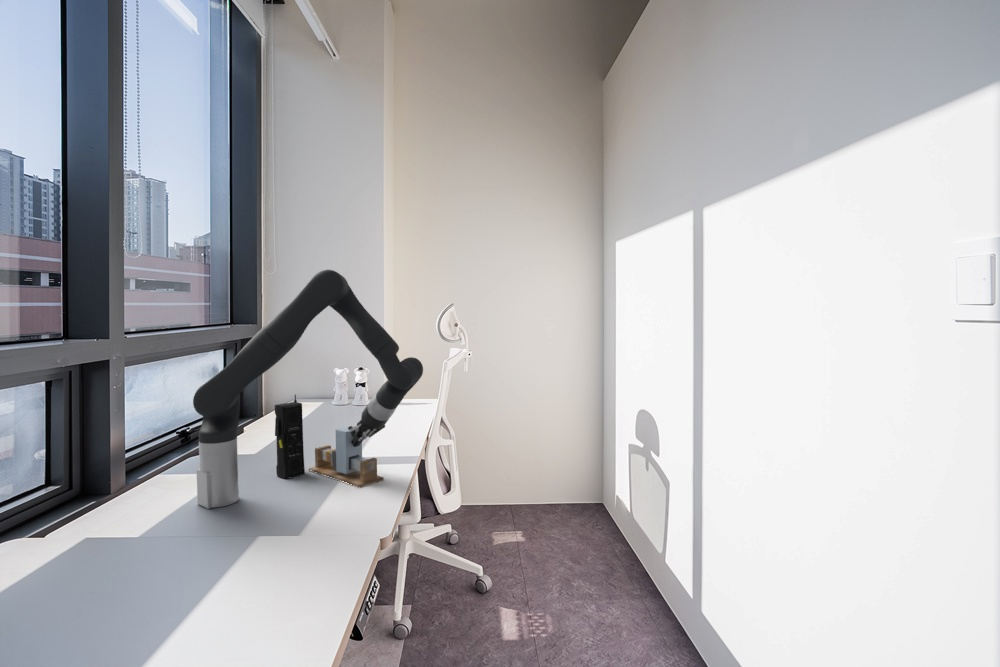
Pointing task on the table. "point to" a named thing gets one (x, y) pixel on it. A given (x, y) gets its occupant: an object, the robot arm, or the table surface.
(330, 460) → the white long bar
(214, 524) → the table surface
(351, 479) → the stand
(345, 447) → the sleeve
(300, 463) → the portable radio
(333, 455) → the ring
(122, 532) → the table surface
